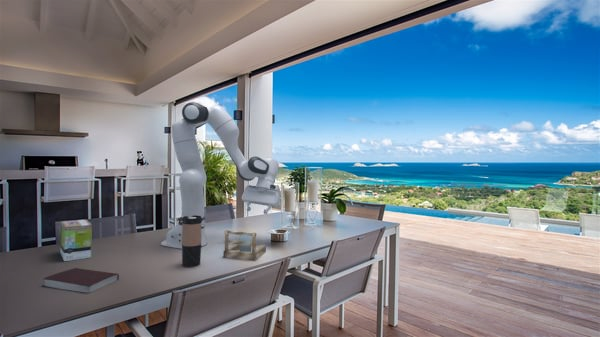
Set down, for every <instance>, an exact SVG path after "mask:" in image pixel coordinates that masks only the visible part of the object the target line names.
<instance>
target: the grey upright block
mask: <svg viewBox="0 0 600 337" xmlns="http://www.w3.org/2000/svg"><path fill="white" fill-rule="evenodd" d="M239 241H243V242H252V236H248V235H239ZM239 251H244V252H252V246H249V245H240V246H239Z"/></svg>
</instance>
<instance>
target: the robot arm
mask: <svg viewBox="0 0 600 337" xmlns="http://www.w3.org/2000/svg"><path fill="white" fill-rule="evenodd" d="M181 115H182V119H179V120H176V121H174V122H173V123H172V125H171V137H172V138H171V139H172V142H173V146H174V151H175V155H176V159H177V162H178V163H179V166H180V168H181V171H182V172H181V174H180V176H179V177H178V178H179V179H178V182H179V190H180V198H181V216H180V217H178V218H177V219H176V222H178V223H177V224H175V225H174V227H173V228H171V229H170V230H168V231H167V233H166V236H165V239H164V240H163V241H161V243H160V245H161V246H164V247H169V248H175V249H181V250H182V224H183V217H184V216H187V217H192V216H193V215H197V216H201V247H204V246H206V245H207V244H208V241H207V238H206V237H207V236H206V233H205V232H206V230H205V226H206V217H205V198H204V197H205V196H204V186H205V184H206V183H207V174H206V171H205V167H204V165H203V164H204V163H203V161H202V158H201V155H200V150H199V146H198V142H197V139H196V134H195V133H196V132H195V130H197V129H198V128H201V127H203V126H204V125H206V124H208V125H209V126H210V127H211V128H212V130H213V131H214V132H215V134H216V135H217V136H218V138H219V139H220V142H221V143H222V145H223V147H224V148H225V150H226V153H227V154H228V156H229V157H230V159H231V161H232V162H233V163H234V165H235V167H236V170H237V174H238V176H239V178H240V179H242V180H243V181H245V182H246V181H247V182H250V181H253V180H254V179H255V178H257V182H256V183H255V184H256V185H251V184H249V185H246V186H245V187H244V191H243V192H242V195H241V201H242V202H244V203H246V211H247V212H251V211H252V210H251V209H252V207H250V206H251V204H255V205H259V206H260V205H261V206H267V208H266V209H263V214H264V215H268V214H269V211H271V209H272V207H273V208H278V207H279V206H280V203H281V198H282V197H281V193H282V191H281V189H280V187H279V186H278V185H276V184H275V181H276V179H277V177H278V172H279V167H280V166H279V162H278V161H277V160H276V159H275V158H272V157H264V158H262V157H259V156H252V157H249V159H246V158H245V156H244V155H243V152H242V151H241V150H240V148H239V144H238V143H239V142H238V141H239V136H240V129H239V127H238V125H237V123H236V122H235V120H234V119H233V117H232V116H231V115H230V114H229V113H228V111H227V110H226V109H224V108H223V107H222V106H220V105H218V104H217V105H214V106H211V107H209V108H208V107H206V106H205V105H202V104H200V103H198V102H194V101H192V102H191V101H190V102H187V103H185V105H184V106H183V107H182V110H181Z"/></svg>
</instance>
